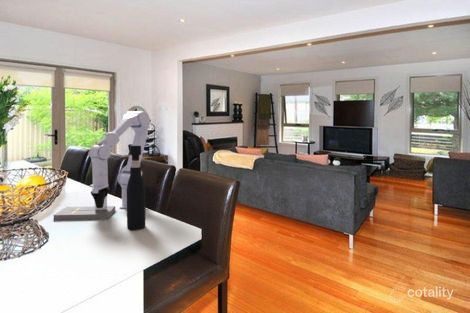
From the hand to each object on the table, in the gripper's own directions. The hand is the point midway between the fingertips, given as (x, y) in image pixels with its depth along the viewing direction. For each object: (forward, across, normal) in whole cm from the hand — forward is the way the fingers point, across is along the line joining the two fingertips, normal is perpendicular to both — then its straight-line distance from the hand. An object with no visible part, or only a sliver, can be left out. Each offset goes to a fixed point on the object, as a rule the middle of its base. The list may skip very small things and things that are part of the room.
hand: (100, 206), depth 126 cm
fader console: (+3, 0, -6) cm, 7 cm away
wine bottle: (+4, +17, +17) cm, 24 cm away
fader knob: (+1, 0, 0) cm, 1 cm away
